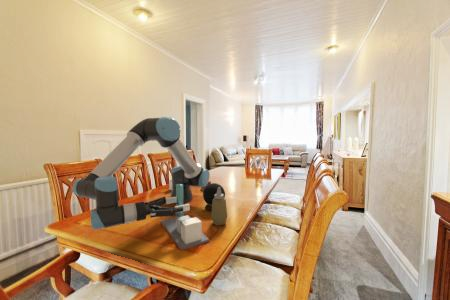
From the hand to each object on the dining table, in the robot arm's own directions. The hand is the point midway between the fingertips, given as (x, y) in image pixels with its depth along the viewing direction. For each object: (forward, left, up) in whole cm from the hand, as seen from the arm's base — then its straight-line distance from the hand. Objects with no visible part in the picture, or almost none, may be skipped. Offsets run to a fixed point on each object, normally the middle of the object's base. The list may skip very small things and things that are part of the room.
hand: (184, 202), depth 97 cm
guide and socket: (+2, -3, -12) cm, 13 cm away
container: (-61, +42, -12) cm, 75 cm away
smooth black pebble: (-7, +28, -12) cm, 31 cm away
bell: (-39, +57, -13) cm, 70 cm away
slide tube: (+5, -4, -11) cm, 12 cm away
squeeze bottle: (+9, +14, -12) cm, 21 cm away
